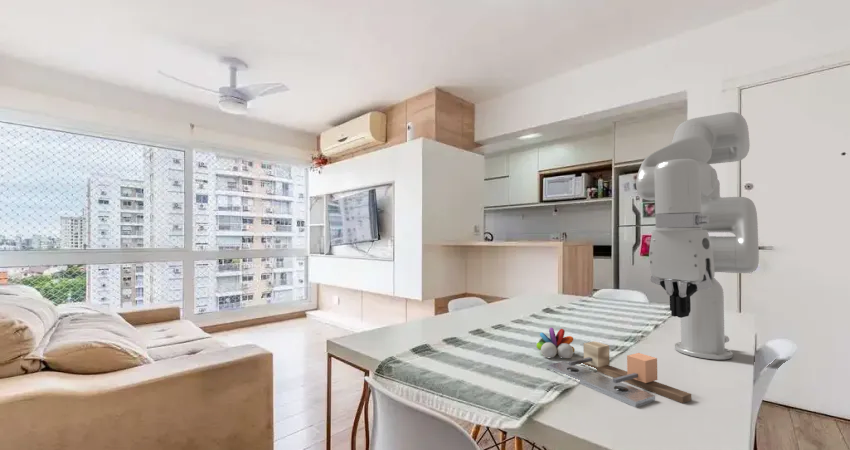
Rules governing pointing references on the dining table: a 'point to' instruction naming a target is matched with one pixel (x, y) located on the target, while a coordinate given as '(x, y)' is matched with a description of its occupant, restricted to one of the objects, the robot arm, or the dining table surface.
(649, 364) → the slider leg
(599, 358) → the rail
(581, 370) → the bolt-hole strip
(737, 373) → the dining table surface
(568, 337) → the rainbow fan toy
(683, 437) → the dining table surface
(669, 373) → the dining table surface
